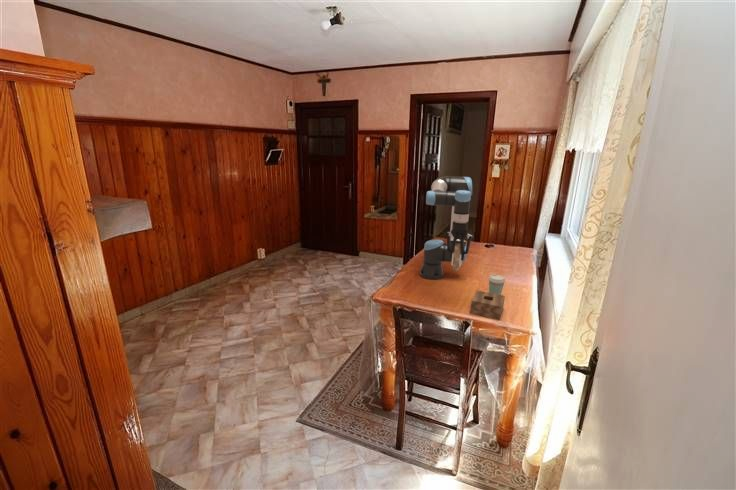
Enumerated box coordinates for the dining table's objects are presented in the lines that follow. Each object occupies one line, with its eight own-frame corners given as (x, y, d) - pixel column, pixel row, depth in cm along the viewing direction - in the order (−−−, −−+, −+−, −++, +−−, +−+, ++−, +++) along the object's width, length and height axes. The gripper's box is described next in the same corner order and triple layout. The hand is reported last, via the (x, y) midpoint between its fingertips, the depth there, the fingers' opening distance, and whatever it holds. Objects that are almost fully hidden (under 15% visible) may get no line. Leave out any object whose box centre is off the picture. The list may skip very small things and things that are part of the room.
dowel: (452, 270, 175) (454, 244, 171) (453, 268, 178) (456, 243, 174) (458, 271, 174) (460, 245, 170) (459, 269, 177) (462, 244, 172)
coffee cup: (498, 293, 191) (501, 274, 188) (505, 300, 183) (508, 280, 179) (484, 293, 191) (486, 274, 187) (489, 300, 182) (492, 280, 179)
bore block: (470, 313, 168) (471, 300, 166) (475, 302, 180) (476, 290, 178) (499, 319, 162) (501, 306, 160) (503, 308, 174) (504, 295, 172)
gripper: (442, 221, 169) (439, 264, 176) (475, 225, 161) (470, 270, 168) (446, 218, 175) (443, 260, 182) (478, 221, 168) (473, 265, 175)
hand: (456, 265), depth 175 cm, fingers closed on dowel, 3 cm apart
